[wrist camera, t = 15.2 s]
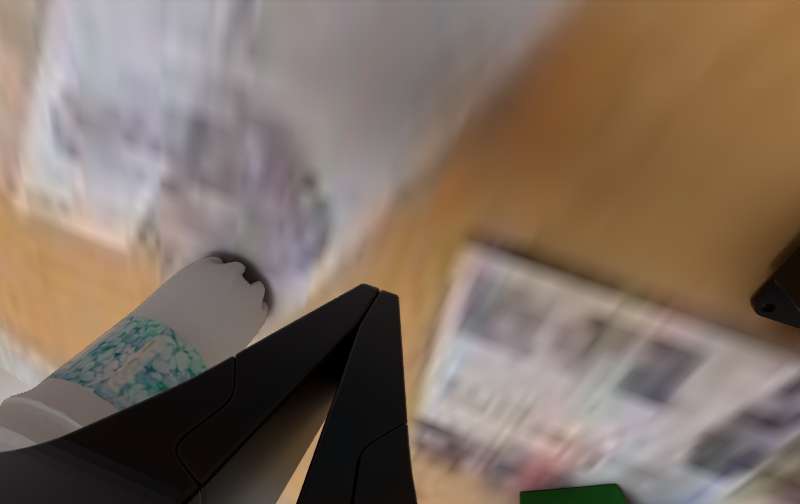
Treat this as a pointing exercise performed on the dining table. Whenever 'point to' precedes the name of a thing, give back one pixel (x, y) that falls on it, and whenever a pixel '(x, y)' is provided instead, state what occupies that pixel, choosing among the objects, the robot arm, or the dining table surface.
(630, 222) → the dining table surface
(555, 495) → the milk carton
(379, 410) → the robot arm
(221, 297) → the bottle
